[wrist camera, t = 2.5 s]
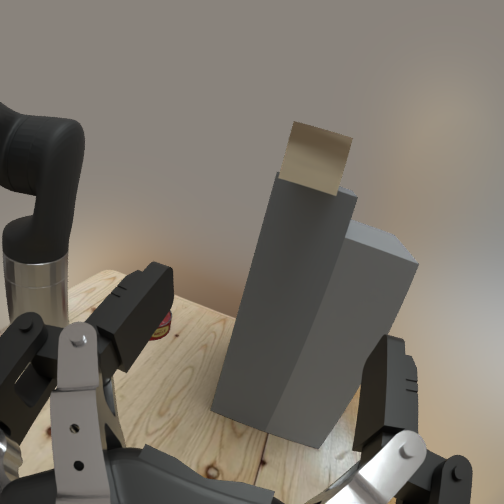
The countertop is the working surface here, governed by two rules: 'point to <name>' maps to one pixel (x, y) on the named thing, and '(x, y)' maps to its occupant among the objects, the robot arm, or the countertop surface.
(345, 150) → the birch bar
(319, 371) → the block
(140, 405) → the countertop surface
